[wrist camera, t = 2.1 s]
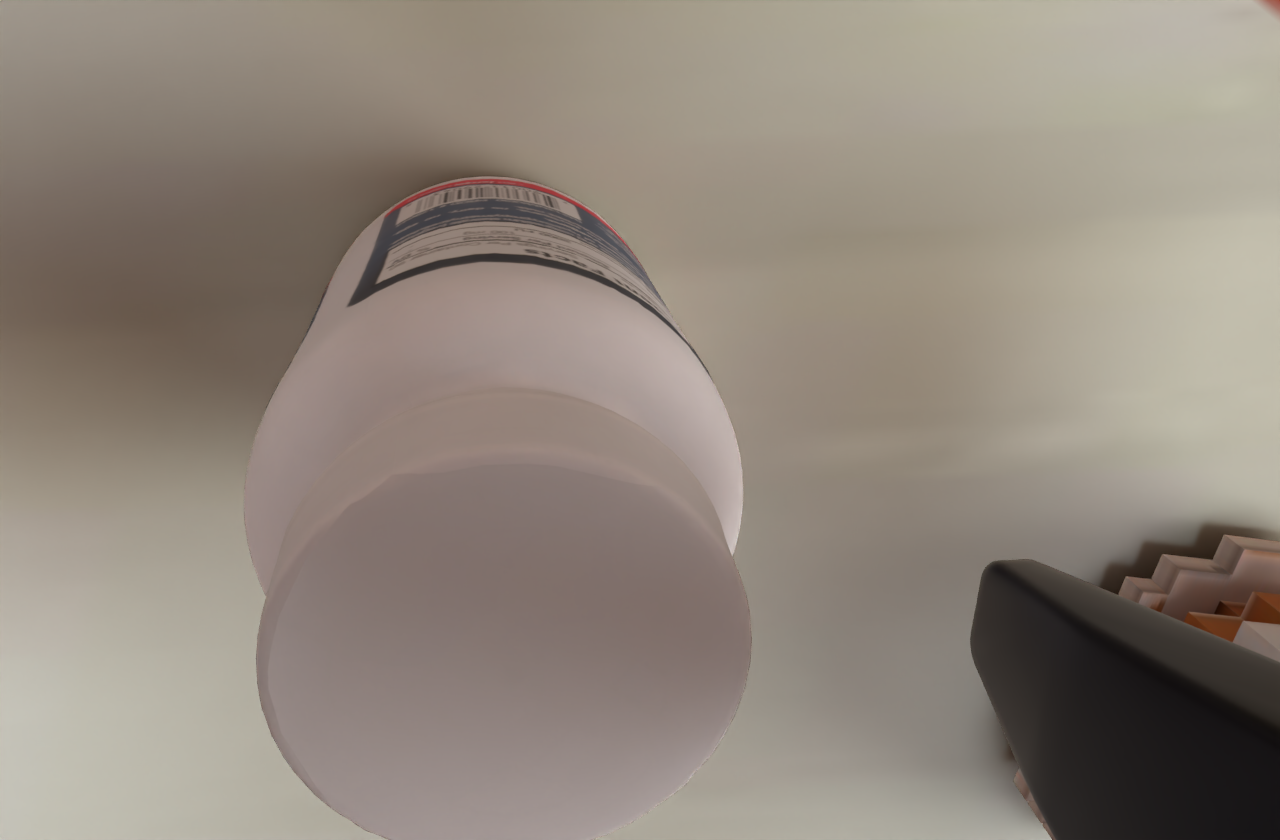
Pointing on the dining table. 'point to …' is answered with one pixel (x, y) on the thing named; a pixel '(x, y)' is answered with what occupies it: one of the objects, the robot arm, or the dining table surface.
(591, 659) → the pill bottle
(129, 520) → the dining table surface
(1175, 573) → the decorative ornament
